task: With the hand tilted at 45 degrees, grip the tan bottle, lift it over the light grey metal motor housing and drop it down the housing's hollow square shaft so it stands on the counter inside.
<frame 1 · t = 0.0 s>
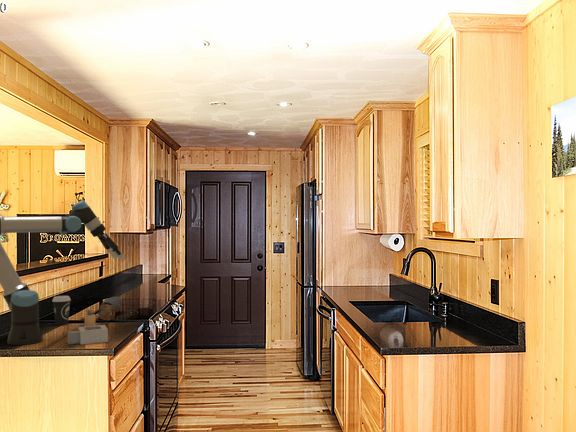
hand: (120, 258, 298), 36 cm above the counter, tool tilted 35°, fingers open, 13 cm apart
bluetooth speaker: (111, 315, 332), on the counter, touching tin
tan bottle: (90, 335, 274), on the counter
tin: (107, 319, 317), on the counter, touching bluetooth speaker
motor housing: (93, 340, 262), on the counter
coffee cup: (61, 324, 305), on the counter
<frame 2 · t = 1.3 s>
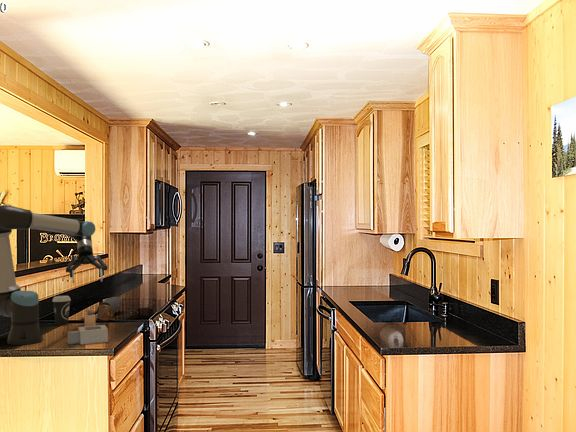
hand: (87, 280, 284), 26 cm above the counter, tool tilted 45°, fingers open, 13 cm apart
tin: (105, 320, 316), on the counter, touching bluetooth speaker
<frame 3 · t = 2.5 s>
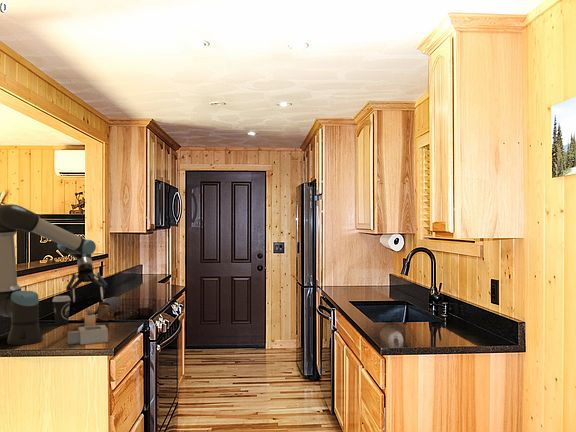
hand: (88, 299, 284), 16 cm above the counter, tool tilted 45°, fingers open, 13 cm apart
nothing on the counter moved.
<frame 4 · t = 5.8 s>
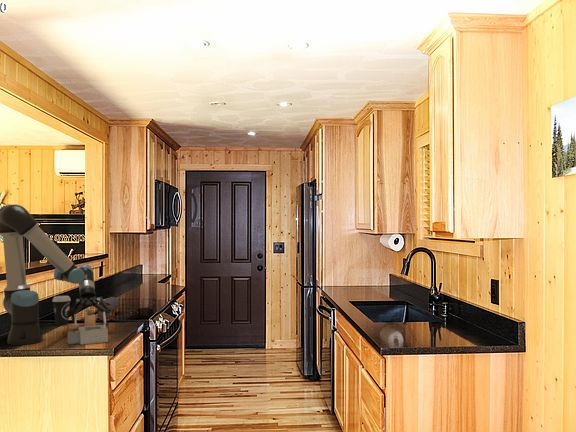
hand: (90, 325, 273), 5 cm above the counter, tool tilted 45°, fingers open, 13 cm apart
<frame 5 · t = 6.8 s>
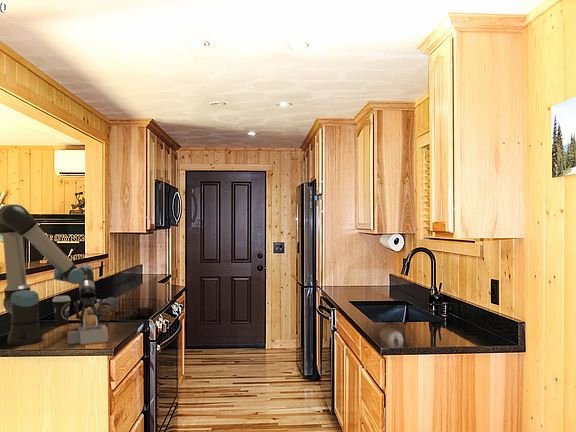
hand: (90, 328, 271), 4 cm above the counter, tool tilted 45°, fingers closed on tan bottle, 5 cm apart
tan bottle: (90, 335, 274), on the counter, touching gripper
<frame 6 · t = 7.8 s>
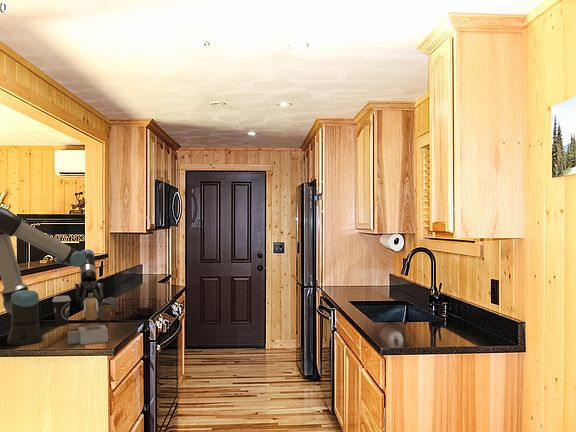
hand: (91, 311, 271), 12 cm above the counter, tool tilted 45°, fingers closed on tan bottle, 5 cm apart
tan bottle: (90, 318, 275), point 8 cm above the counter, touching gripper
tin: (106, 320, 316), on the counter, touching bluetooth speaker
when the fingers open (10 cm above the counter, at t = 11.3 s): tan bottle drops 6 cm, resting in motor housing.
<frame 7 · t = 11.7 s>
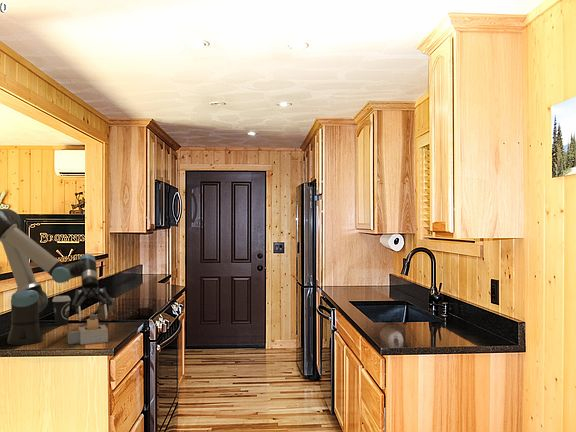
hand: (93, 318, 259), 11 cm above the counter, tool tilted 45°, fingers open, 11 cm apart
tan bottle: (92, 340, 262), resting in motor housing
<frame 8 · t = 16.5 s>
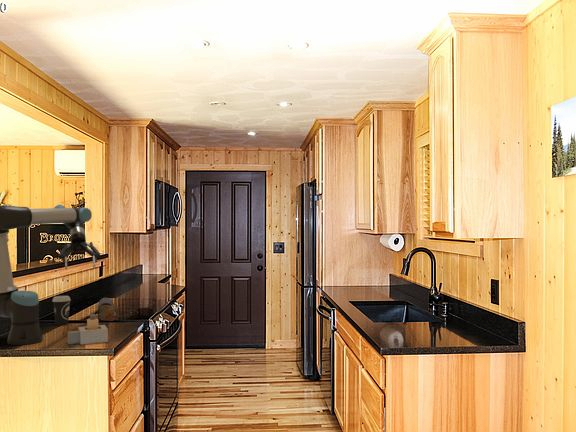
hand: (80, 267, 285), 33 cm above the counter, tool tilted 45°, fingers open, 13 cm apart
tin: (108, 320, 315), on the counter, touching bluetooth speaker
at the end: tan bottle 0.1 cm off-centre on the motor housing, point 0.0 cm above the motor housing's base; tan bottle tilted 1°; the gripper is holding nothing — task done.
